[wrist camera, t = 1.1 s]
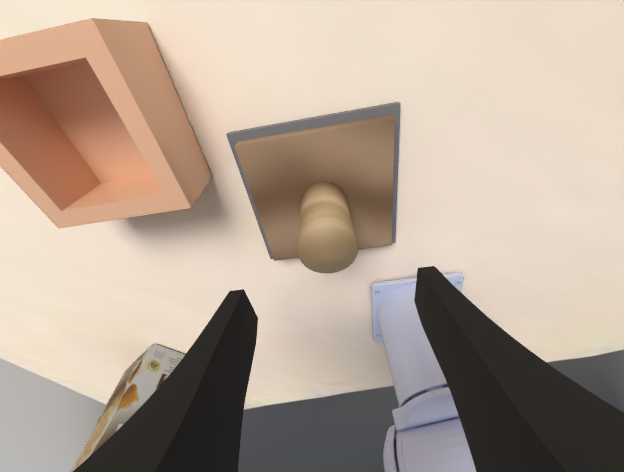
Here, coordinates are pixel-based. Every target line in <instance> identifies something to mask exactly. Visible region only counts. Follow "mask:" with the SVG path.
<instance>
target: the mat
mask: <svg viewBox="0 0 624 472" xmlns="http://www.w3.org/2000/svg"><path fill="white" fill-rule="evenodd" d="M386 115H392V116H393V117H394V118H395V126H394V166H393V205H392V243H395V237H396V210H397V183H398V155H399V128H400V103H399V102H395V103H390V104H384V105H379V106H373V107H368V108H362V109H356V110H351V111H345V112H340V113H334V114H329V115H323V116H318V117H312V118H306V119H301V120H295V121H290V122H284V123H279V124H273V125H268V126H262V127H256V128H251V129H245V130H240V131H234V132H229V133H227V137H228V140H229V143H230V146H231V149H232V151H233V154H234V157H235V160H236V163H237V166H238V168H239V171H240V174H241V177H242V180H243V182H244V185H245V188H246V191H247V194H248V196H249V199H250V202H251V205H252V208H253V211H254V213H255V216H256V219H257V222H258V225H259V227H260V230H261V233H262V236H263V239H264V241H265V244H266V247H267V250H268V253H269V256H270V258H271V259H273V256H272V253H271V250H270V247H269V244H268V241H267V238H266V236H265V233H264V230H263V227H262V224H261V221H260V218H259V215H258V212H257V210H256V207H255V204H254V201H253V198H252V195H251V192H250V189H249V186H248V184H247V181H246V178H245V175H244V172H243V169H242V166H241V163H240V161H239V158H238V155H237V152H236V149H235V145H236V143H237V142H239V141H244V140H250V139H256V138H261V137H267V136H273V135H278V134H284V133H290V132H296V131H301V130H307V129H313V128H318V127H324V126H330V125H335V124H341V123H347V122H352V121H358V120H364V119H369V118H375V117H381V116H386Z"/></svg>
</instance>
